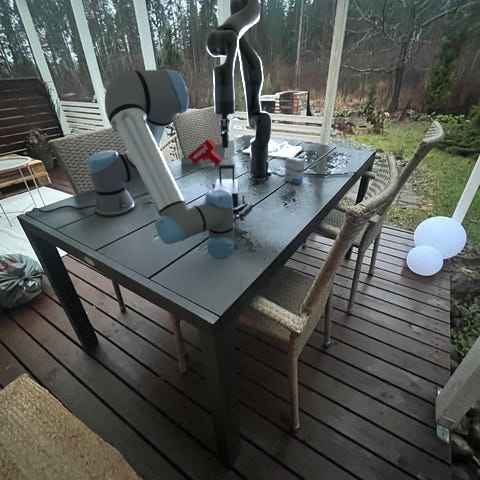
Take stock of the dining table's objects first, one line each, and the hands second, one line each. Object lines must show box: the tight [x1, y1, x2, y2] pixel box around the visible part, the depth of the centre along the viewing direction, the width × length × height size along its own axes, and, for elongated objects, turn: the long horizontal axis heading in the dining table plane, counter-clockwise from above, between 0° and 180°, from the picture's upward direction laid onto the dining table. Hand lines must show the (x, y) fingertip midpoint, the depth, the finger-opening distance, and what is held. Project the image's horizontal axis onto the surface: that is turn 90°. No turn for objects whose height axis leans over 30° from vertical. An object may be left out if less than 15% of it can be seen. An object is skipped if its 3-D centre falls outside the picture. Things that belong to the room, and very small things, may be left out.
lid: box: [214, 164, 239, 197], centre depth 110 cm, size 16×9×8 cm, turn 0°
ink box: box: [284, 156, 306, 185], centre depth 140 cm, size 8×5×12 cm, turn 47°
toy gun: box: [188, 138, 223, 167], centre depth 168 cm, size 18×4×15 cm
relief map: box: [242, 138, 304, 160], centre depth 192 cm, size 27×35×5 cm
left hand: (226, 198), depth 109 cm, fingers open, 13 cm apart
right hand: (225, 144), depth 108 cm, fingers open, 8 cm apart
